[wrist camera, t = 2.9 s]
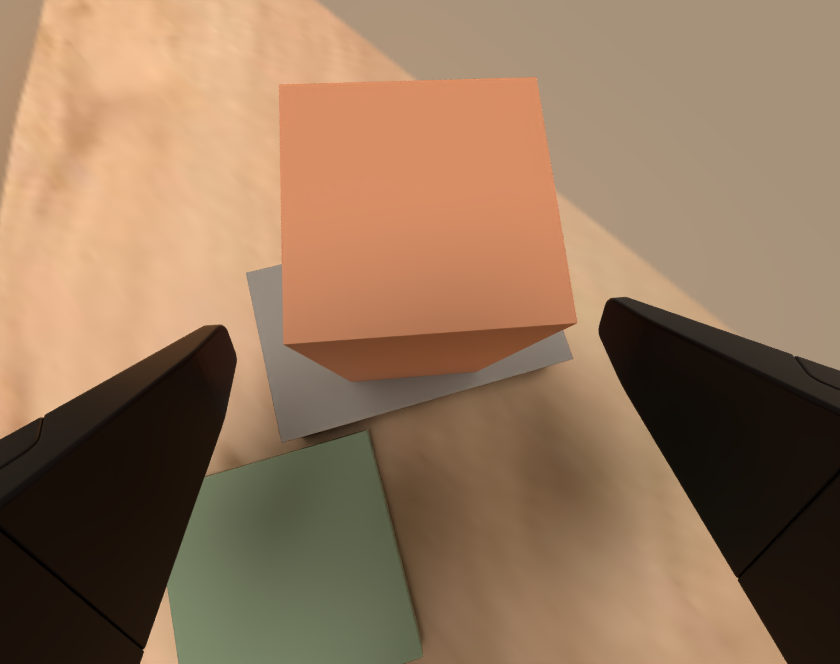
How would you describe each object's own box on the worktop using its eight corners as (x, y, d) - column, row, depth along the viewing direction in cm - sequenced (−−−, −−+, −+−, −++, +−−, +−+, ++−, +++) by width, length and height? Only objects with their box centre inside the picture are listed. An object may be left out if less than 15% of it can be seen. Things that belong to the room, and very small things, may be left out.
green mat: (421, 641, 16) (423, 656, 15) (203, 718, 15) (190, 740, 14) (368, 429, 18) (366, 430, 17) (167, 487, 17) (153, 492, 16)
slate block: (546, 366, 19) (573, 359, 16) (301, 437, 18) (281, 442, 15) (501, 236, 20) (519, 207, 17) (270, 294, 19) (246, 273, 16)
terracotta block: (476, 371, 15) (577, 322, 7) (351, 382, 15) (283, 344, 6) (463, 254, 16) (536, 76, 8) (345, 262, 16) (279, 85, 7)
